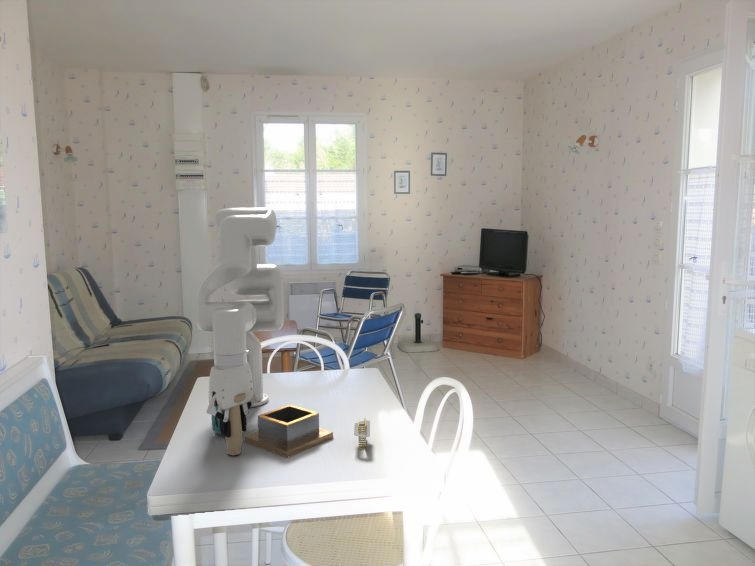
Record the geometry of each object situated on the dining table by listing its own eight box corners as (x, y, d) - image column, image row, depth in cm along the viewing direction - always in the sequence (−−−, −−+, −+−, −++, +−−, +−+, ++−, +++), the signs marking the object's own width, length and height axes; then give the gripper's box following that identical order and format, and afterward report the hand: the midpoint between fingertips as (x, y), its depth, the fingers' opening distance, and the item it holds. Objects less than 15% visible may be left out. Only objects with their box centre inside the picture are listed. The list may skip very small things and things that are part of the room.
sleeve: (244, 441, 155) (243, 416, 154) (290, 424, 167) (290, 400, 166) (286, 457, 145) (286, 430, 144) (333, 437, 157) (332, 412, 156)
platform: (336, 462, 143) (336, 435, 142) (340, 433, 161) (339, 410, 160) (387, 461, 143) (387, 434, 142) (385, 433, 161) (385, 409, 160)
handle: (245, 457, 144) (243, 396, 142) (218, 457, 144) (216, 397, 142) (249, 448, 149) (247, 390, 147) (223, 449, 149) (220, 390, 147)
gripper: (248, 349, 152) (251, 419, 155) (190, 364, 139) (194, 440, 142) (268, 354, 147) (270, 426, 150) (210, 369, 135) (213, 448, 137)
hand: (233, 432), depth 146 cm, fingers closed on handle, 4 cm apart
